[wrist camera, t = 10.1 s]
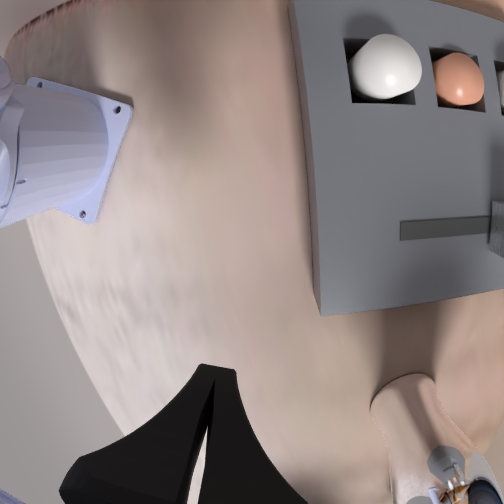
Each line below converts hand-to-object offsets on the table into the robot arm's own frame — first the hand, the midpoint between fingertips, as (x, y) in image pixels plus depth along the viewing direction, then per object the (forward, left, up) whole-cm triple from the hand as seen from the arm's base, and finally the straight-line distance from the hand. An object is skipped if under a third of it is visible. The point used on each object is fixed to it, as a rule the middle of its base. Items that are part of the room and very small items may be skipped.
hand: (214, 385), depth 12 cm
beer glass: (+17, -4, -10) cm, 20 cm away
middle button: (+6, +18, -9) cm, 21 cm away
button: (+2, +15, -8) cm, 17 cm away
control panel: (+8, +14, -9) cm, 19 cm away
